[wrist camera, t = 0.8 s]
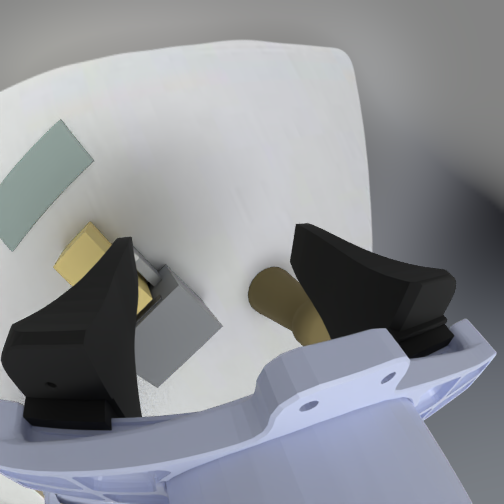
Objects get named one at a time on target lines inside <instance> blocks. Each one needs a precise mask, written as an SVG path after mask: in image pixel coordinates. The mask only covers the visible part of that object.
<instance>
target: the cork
mask: <svg viewBox="0 0 504 504" xmlns="http://www.w3.org/2000/svg"><path fill="white" fill-rule="evenodd" d="M248 298H249V303H250V305H251V307H252V308H253V309H254V310H256V311H257V312H259V313H260V314H262V315H264V316H266V317H268V318H269V319H271V320H273V321H275V322H277V323H278V324H280V325H282V326H284V327H286V328H288V329H289V330H291V331H292V332H293V334H294V337H295V338H296V340H297V341H298V342H299V343H300V344H301V345H303V346H307V345H311V344H316V343H320V342H324V341H328V340H331V338H330V336H329V334H328V331H327V329H326V327H325V325H324V323H323V321H322V319H321V317H320V315H319V313H318V312H317V310H316V308H315V307H314V305H313V304H312V302H311V300H310V299H309V297H308V296H307V294H306V292H305V291H304V289H303V288H302V286H301V284H300V283H299V282H298V281H297V280H296V279H294V278H293V277H292V276H291V275H290V274H289V273H287V272H286V271H285V270H283V269H281V268H279V267H270V268H267V269H264V270H263V271H261V272H260V273H258V274H257V276H256V277H255V278H254V279H253V281H252V283H251V285H250V287H249V292H248Z"/></svg>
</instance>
